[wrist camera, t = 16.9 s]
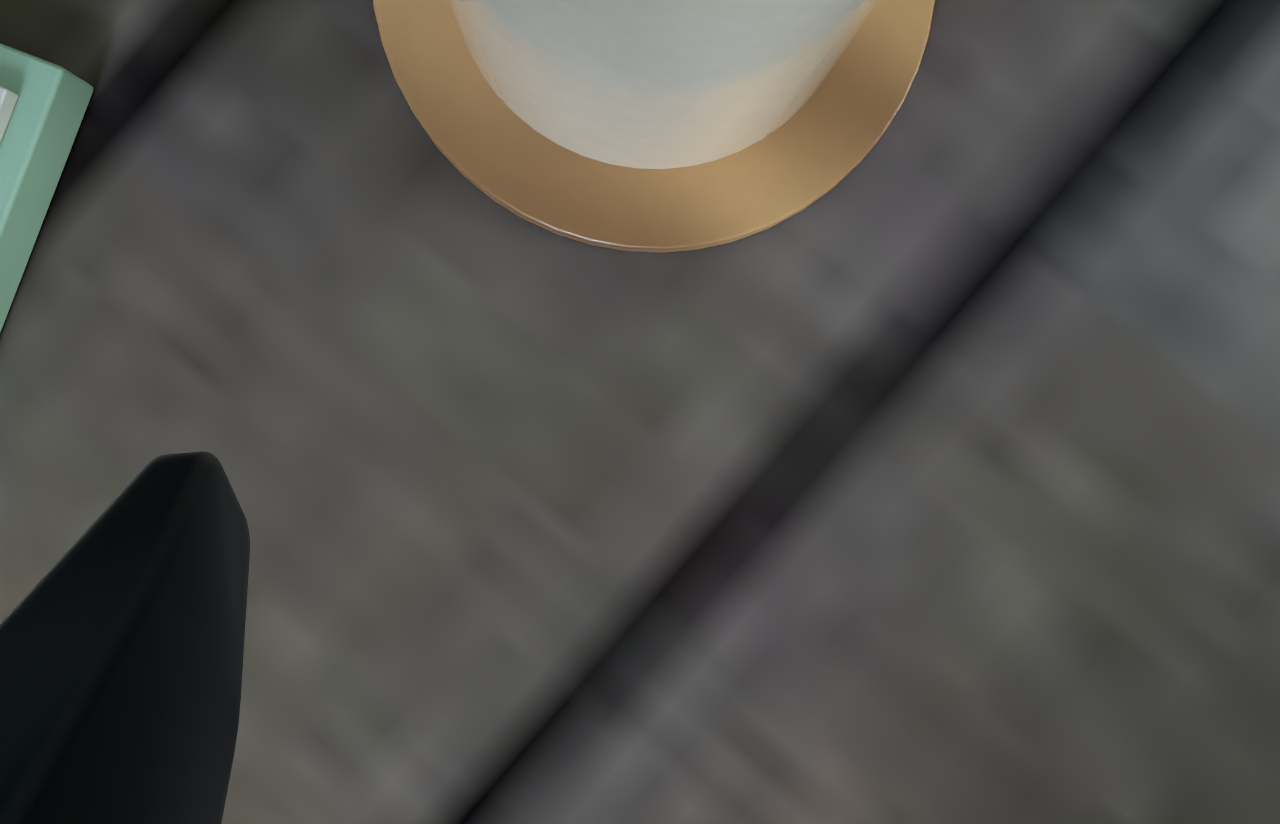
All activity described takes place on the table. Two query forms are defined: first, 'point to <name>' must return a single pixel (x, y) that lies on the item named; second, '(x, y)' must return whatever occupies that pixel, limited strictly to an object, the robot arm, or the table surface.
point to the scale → (31, 153)
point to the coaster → (653, 198)
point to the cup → (656, 70)
